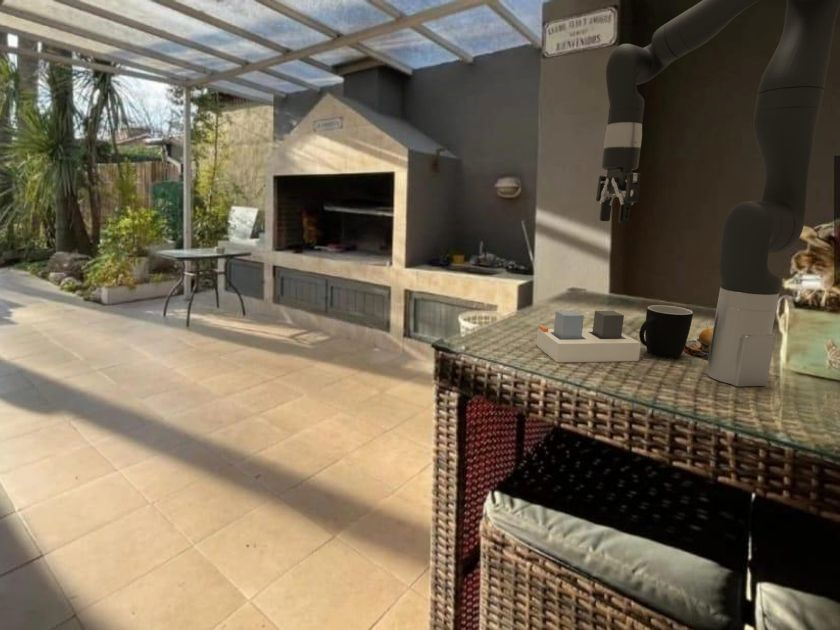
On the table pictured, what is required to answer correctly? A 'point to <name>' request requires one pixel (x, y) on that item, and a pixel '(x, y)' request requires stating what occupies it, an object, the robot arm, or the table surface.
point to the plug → (568, 325)
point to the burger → (700, 345)
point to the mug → (666, 330)
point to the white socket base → (592, 342)
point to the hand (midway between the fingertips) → (613, 221)
